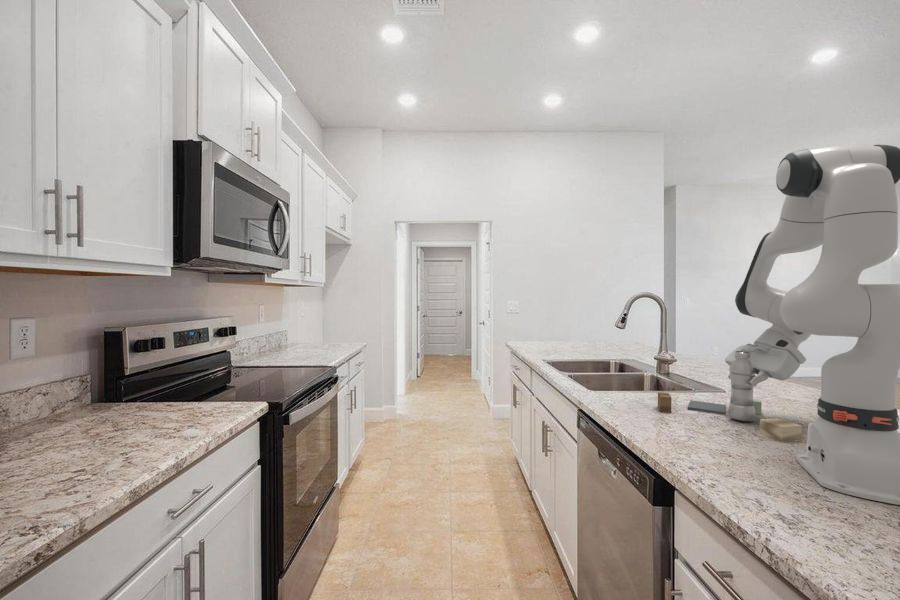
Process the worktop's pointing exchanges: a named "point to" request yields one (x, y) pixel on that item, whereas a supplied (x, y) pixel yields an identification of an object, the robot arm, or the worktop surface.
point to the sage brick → (757, 406)
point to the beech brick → (780, 429)
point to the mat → (707, 407)
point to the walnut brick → (664, 402)
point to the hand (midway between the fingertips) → (740, 381)
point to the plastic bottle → (741, 388)
